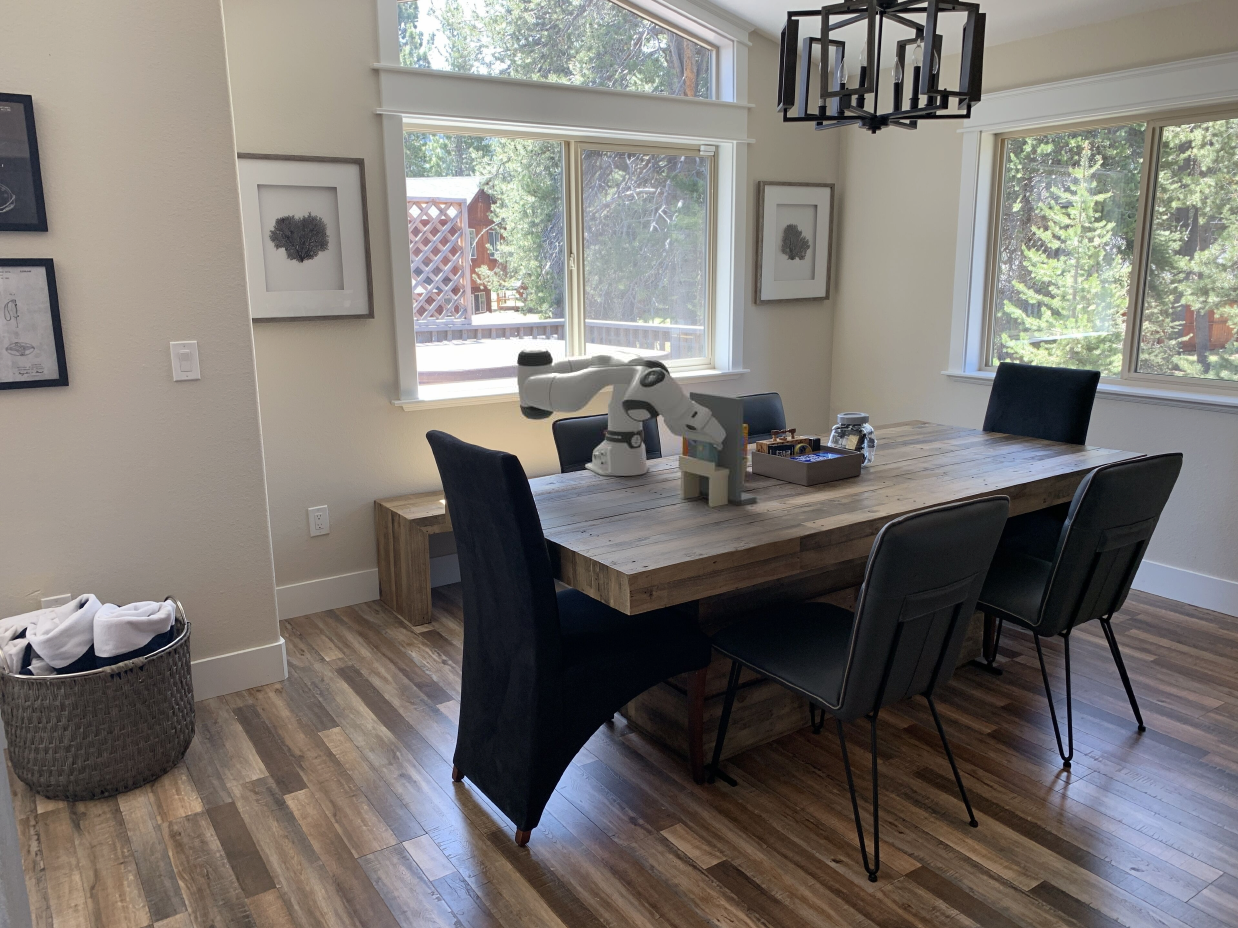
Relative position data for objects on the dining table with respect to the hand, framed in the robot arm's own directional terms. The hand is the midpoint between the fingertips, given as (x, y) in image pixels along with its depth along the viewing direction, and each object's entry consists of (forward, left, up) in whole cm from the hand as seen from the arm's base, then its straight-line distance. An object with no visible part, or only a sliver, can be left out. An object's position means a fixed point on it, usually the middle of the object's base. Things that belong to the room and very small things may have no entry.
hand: (708, 445), depth 256 cm
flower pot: (-9, +19, -16) cm, 26 cm away
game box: (-27, +28, -16) cm, 42 cm away
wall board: (0, +3, -16) cm, 16 cm away
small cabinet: (0, 0, -6) cm, 6 cm away
